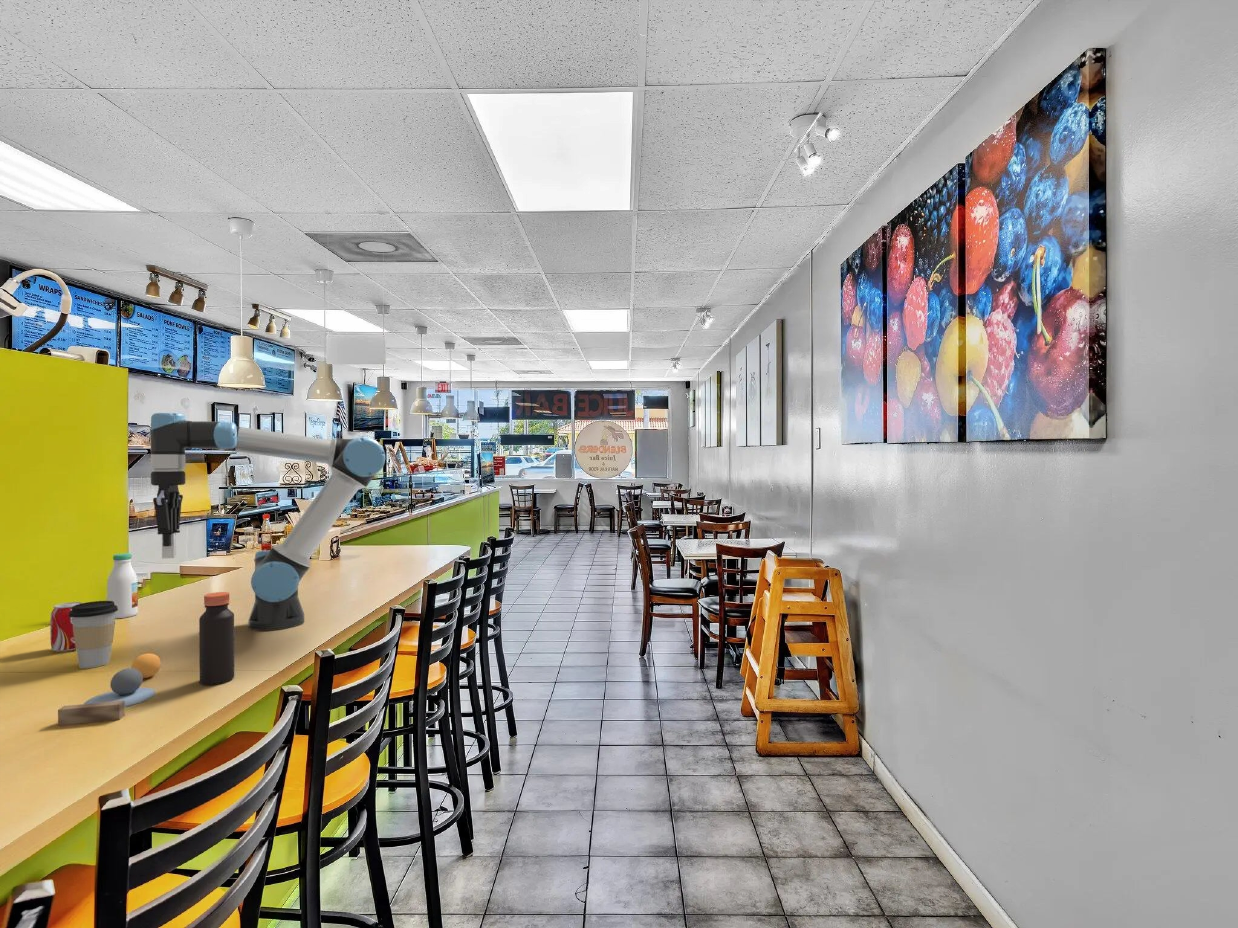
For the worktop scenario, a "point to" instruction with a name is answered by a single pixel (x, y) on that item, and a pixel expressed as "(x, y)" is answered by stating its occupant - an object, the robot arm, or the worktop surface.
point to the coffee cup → (93, 632)
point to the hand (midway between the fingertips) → (169, 557)
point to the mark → (124, 697)
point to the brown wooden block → (91, 712)
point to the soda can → (62, 628)
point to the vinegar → (216, 640)
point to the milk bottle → (123, 586)
